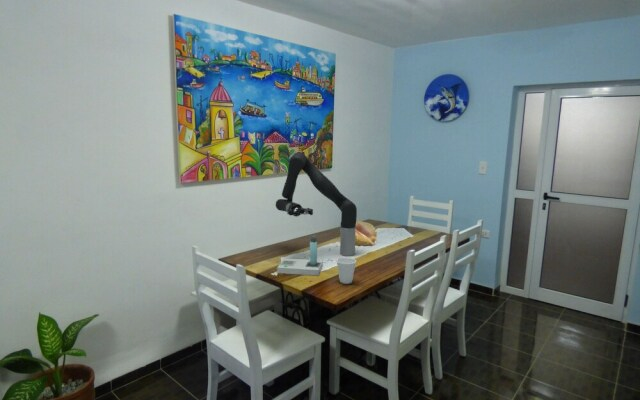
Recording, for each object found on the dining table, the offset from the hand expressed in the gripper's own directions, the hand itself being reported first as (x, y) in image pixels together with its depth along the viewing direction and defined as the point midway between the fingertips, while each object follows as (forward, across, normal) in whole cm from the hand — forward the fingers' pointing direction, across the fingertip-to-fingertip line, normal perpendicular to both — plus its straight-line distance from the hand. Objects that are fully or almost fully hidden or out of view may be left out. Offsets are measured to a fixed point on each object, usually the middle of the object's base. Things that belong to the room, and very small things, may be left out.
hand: (305, 213), depth 209 cm
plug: (+11, 0, +29) cm, 31 cm away
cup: (+34, +8, +29) cm, 45 cm away
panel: (+7, -6, +29) cm, 31 cm away
